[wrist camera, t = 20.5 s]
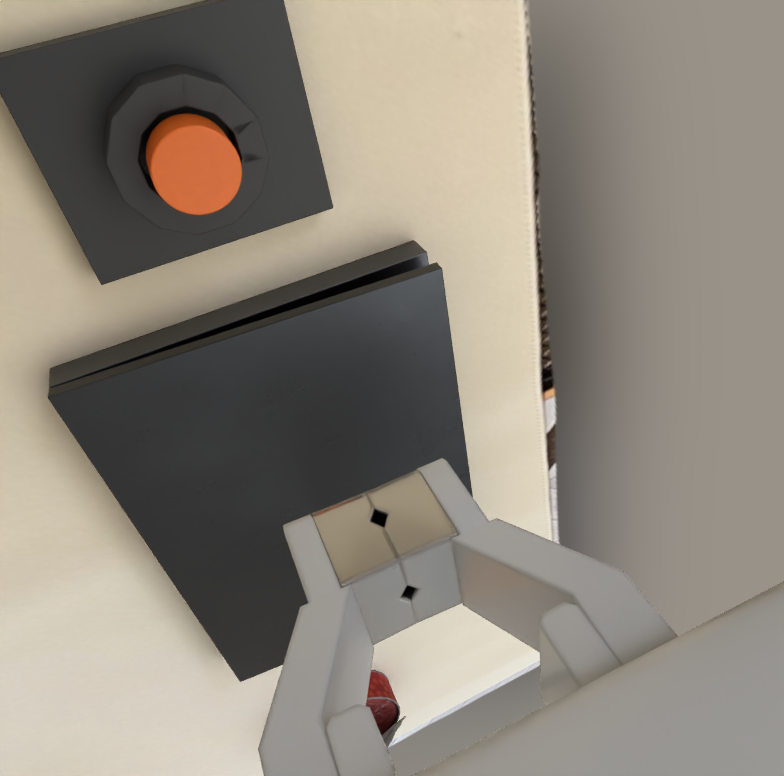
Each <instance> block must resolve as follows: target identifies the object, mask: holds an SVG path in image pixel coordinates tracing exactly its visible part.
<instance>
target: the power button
mask: <svg viewBox="0 0 784 776" xmlns="http://www.w3.org/2000/svg"><path fill="white" fill-rule="evenodd" d="M146 162H147V166H148V169H149V172H150V176H151V179H152V182H153V185H154V187H155V189H156V191H157V192H158V194H159V195H160V197H161V198H162V199H163V200H164V201H165V202H166V203H167V204H168V205H170V206H171V207H173V208H175V209H176V210H178V211H181V212H183V213H187V214H192V215H205V214H210V213H214V212H216V211H218V210H220V209H222V208H224V207H225V206H226V205H228V204H229V203H230V202H231V201H232V199H233V198H234V197H235V195H236V194H237V192H238V190H239V187H240V184H241V179H242V165H241V161H240V157H239V155H238V153H237V151H236V149H235V147H234V146H233V144H232V143H231V142H230V140H229V139H228V137H227V136H226V135H225V133H224V132H223V130H222V129H221V128H220V127H219V126H218V125H216V124H215V123H214V122H213V121H211V120H209V119H208V118H205V117H203V116H200V115H197V114H191V113H183V114H176V115H173V116H170V117H168V118H166V119H164V120H163V121H161V122H160V123H159V124H158V125H157V126H156V127H155V128H154V129H153V131H152V132H151V134H150V136H149V138H148V141H147V145H146Z"/></svg>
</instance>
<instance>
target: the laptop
mask: <svg viewBox="0 0 784 776" xmlns="http://www.w3.org/2000/svg"><path fill="white" fill-rule="evenodd" d="M427 265H429V263H428V256H427V252H426V251H425V250H424V249H423V248H422V247H421V246H420V245H419V244H418V243H417V242H415V241H411V242H408V243H406V244H403V245H400V246H397V247H394V248H391V249H389V250H386V251H383V252H380V253H377V254H374V255H371V256H369V257H366V258H363V259H360V260H357V261H354V262H352V263H349V264H346V265H343V266H340V267H337V268H335V269H332V270H329V271H326V272H323V273H320V274H317V275H315V276H312V277H309V278H306V279H303V280H300V281H298V282H295V283H292V284H289V285H286V286H283V287H281V288H278V289H275V290H272V291H269V292H266V293H264V294H261V295H258V296H255V297H252V298H249V299H246V300H244V301H241V302H238V303H235V304H232V305H229V306H227V307H224V308H221V309H218V310H215V311H212V312H210V313H207V314H204V315H201V316H198V317H195V318H192V319H190V320H187V321H184V322H181V323H178V324H175V325H173V326H170V327H167V328H164V329H161V330H158V331H156V332H153V333H150V334H147V335H144V336H141V337H138V338H136V339H133V340H130V341H127V342H124V343H121V344H119V345H116V346H113V347H110V348H107V349H104V350H102V351H99V352H96V353H93V354H90V355H87V356H85V357H82V358H79V359H76V360H73V361H70V362H67V363H65V364H62V365H59V366H56V367H53V368H51V369H50V381H49V388H53V387H56V386H59V385H62V384H65V383H68V382H71V381H74V380H78V379H81V378H84V377H87V376H90V375H93V374H96V373H99V372H102V371H105V370H108V369H111V368H114V367H117V366H120V365H124V364H127V363H130V362H133V361H136V360H139V359H142V358H145V357H148V356H151V355H154V354H157V353H160V352H163V351H166V350H170V349H173V348H176V347H179V346H182V345H185V344H188V343H191V342H194V341H197V340H200V339H203V338H206V337H209V336H212V335H215V334H219V333H222V332H225V331H228V330H231V329H234V328H237V327H240V326H243V325H246V324H249V323H252V322H255V321H258V320H261V319H265V318H268V317H271V316H274V315H277V314H280V313H283V312H286V311H289V310H292V309H295V308H298V307H301V306H304V305H307V304H311V303H314V302H317V301H320V300H323V299H326V298H329V297H332V296H335V295H338V294H341V293H344V292H347V291H350V290H353V289H357V288H360V287H363V286H366V285H369V284H372V283H375V282H378V281H381V280H384V279H387V278H390V277H393V276H396V275H399V274H403V273H406V272H409V271H412V270H415V269H418V268H421V267H424V266H427Z"/></svg>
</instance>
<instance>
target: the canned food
mask: <svg viewBox="0 0 784 776" xmlns="http://www.w3.org/2000/svg"><path fill="white" fill-rule="evenodd" d="M366 706H367V707H370V709H371V712H372V714H373V716H374V719H375V721H376V724H377V726H378V728H379V731H380V733H381V736H382V738H383V740H384V743H385V745H386V748H388V746H389V744H390V743H391V741H392V739H393V736H394V734H395V732H396V730H397V729H398V728H399V726H400V725H401V723H402V721H403V720H404V718H405V717H406V716H404V717H403V718H402V719H401V720H399V721H398V719H399V715H400V707H399V705H398V703H397V701H396V698H395V696H394V694H393V691H392V689H391V686H390V684H389V681H388V679H387V677H386V676H385V675H384V674H382V673H380V672H378V671H374V670H371V673H370V680H369V687H368V694H367V701H366ZM397 721H398V722H397Z"/></svg>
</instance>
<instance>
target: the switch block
mask: <svg viewBox="0 0 784 776" xmlns="http://www.w3.org/2000/svg"><path fill="white" fill-rule="evenodd" d="M0 94H1V96H2V98H3V100H4V102H5V103H6V105H7V107H8V109H9V111H10V113H11V115H12V117H13V119H14V121H15V122H16V124H17V126H18V128H19V130H20V132H21V134H22V136H23V138H24V139H25V141H26V143H27V145H28V147H29V149H30V151H31V153H32V155H33V157H34V158H35V160H36V162H37V164H38V166H39V168H40V170H41V172H42V174H43V175H44V177H45V179H46V181H47V183H48V185H49V187H50V189H51V191H52V192H53V194H54V196H55V198H56V200H57V202H58V204H59V206H60V208H61V210H62V211H63V213H64V215H65V217H66V219H67V221H68V223H69V225H70V227H71V228H72V230H73V232H74V234H75V236H76V238H77V240H78V242H79V244H80V246H81V247H82V249H83V251H84V253H85V255H86V257H87V259H88V261H89V263H90V264H91V266H92V268H93V270H94V272H95V274H96V276H97V278H98V280H99V281H100V283H101V285H103V284H106V283H109V282H112V281H115V280H118V279H121V278H124V277H127V276H130V275H133V274H136V273H139V272H142V271H145V270H148V269H151V268H154V267H157V266H160V265H163V264H166V263H169V262H172V261H175V260H178V259H181V258H184V257H187V256H190V255H193V254H196V253H199V252H202V251H205V250H208V249H211V248H214V247H217V246H220V245H223V244H226V243H229V242H232V241H235V240H238V239H241V238H244V237H247V236H251V235H254V234H257V233H260V232H263V231H266V230H269V229H272V228H275V227H278V226H281V225H284V224H287V223H290V222H293V221H296V220H299V219H302V218H305V217H308V216H311V215H314V214H317V213H320V212H323V211H326V210H329V209H332V208H333V204H332V200H331V196H330V192H329V188H328V184H327V179H326V175H325V171H324V167H323V163H322V159H321V154H320V150H319V146H318V142H317V138H316V134H315V130H314V125H313V121H312V117H311V113H310V109H309V105H308V100H307V96H306V92H305V88H304V84H303V80H302V75H301V71H300V67H299V63H298V59H297V55H296V51H295V46H294V42H293V38H292V34H291V30H290V26H289V21H288V17H287V13H286V9H285V5H284V1H283V0H205V1H201V2H198V3H194V4H190V5H186V6H182V7H178V8H174V9H170V10H166V11H163V12H159V13H155V14H151V15H147V16H143V17H139V18H135V19H131V20H127V21H124V22H120V23H116V24H112V25H108V26H104V27H100V28H96V29H92V30H88V31H85V32H81V33H77V34H73V35H69V36H65V37H61V38H57V39H53V40H50V41H46V42H42V43H38V44H34V45H30V46H26V47H22V48H18V49H14V50H11V51H7V52H3V53H0ZM183 113H191V114H197V115H200V116H203V117H205V118H208V119H209V120H211V121H213V122H214V123H215V124H216V125H218V126H219V127H220V128H221V129H222V130H223V132H224V133H225V135H226V136H227V137H228V139H229V140H230V142H231V143H232V144H233V146H234V147H235V149H236V151H237V153H238V155H239V157H240V161H241V165H242V179H241V184H240V187H239V190H238V192H237V194H236V195H235V197H234V198H233V199H232V201H231V202H230V203H229V204H228V205H226V206H225V207H224V208H222V209H220V210H218V211H216V212H214V213H210V214H205V215H192V214H187V213H183V212H181V211H178V210H176V209H175V208H173V207H171V206H170V205H168V204H167V203H166V202H165V201H164V200H163V199H162V198H161V197H160V195H159V194H158V192H157V191H156V189H155V187H154V185H153V182H152V179H151V176H150V172H149V169H148V166H147V162H146V145H147V141H148V138H149V136H150V134H151V132H152V131H153V129H154V128H155V127H156V126H157V125H158V124H159V123H160V122H161V121H163V120H164V119H166V118H168V117H170V116H173V115H176V114H183Z"/></svg>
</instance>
